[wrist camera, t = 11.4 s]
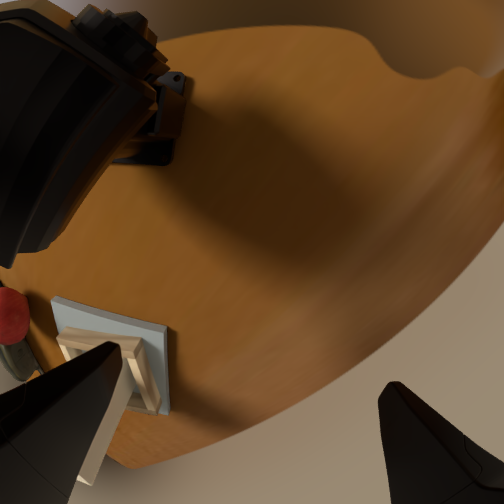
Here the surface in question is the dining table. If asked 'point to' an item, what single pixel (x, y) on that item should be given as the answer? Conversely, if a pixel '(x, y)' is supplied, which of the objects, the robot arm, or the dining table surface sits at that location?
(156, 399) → the socket collar
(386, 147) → the dining table surface
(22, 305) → the onion
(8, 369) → the mobile phone
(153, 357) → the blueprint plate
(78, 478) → the block
